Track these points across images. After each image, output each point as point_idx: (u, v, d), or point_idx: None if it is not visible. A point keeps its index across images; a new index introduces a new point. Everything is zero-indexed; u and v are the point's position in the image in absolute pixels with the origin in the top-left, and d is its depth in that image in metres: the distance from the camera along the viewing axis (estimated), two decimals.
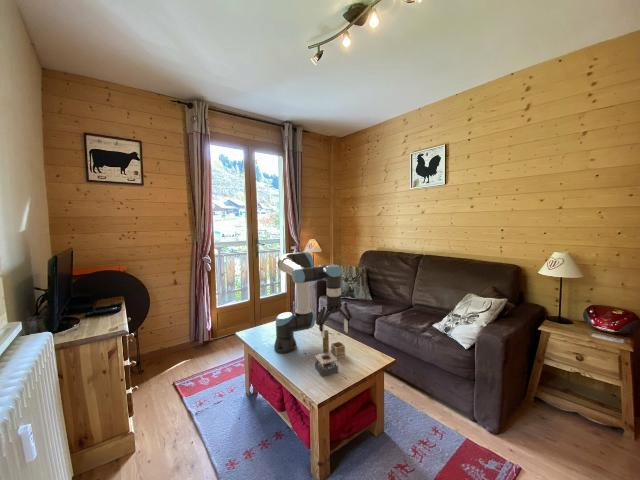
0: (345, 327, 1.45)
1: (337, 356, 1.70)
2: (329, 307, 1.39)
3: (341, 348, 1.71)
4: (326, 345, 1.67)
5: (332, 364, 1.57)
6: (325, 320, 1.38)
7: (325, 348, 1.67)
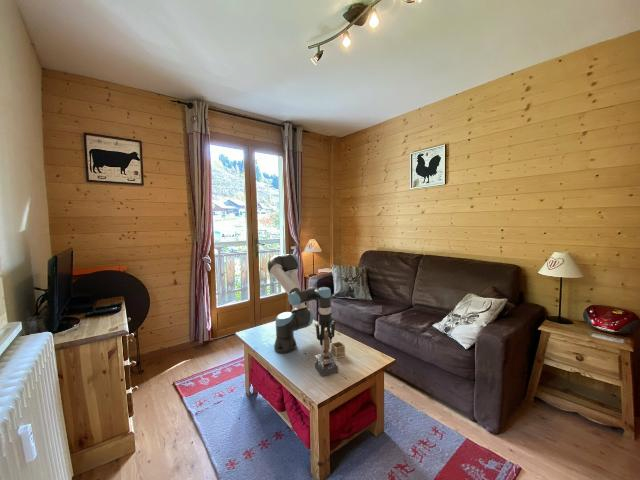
0: None
1: (337, 356, 1.70)
2: (321, 323, 1.65)
3: (341, 348, 1.71)
4: (326, 345, 1.67)
5: (332, 364, 1.57)
6: (323, 335, 1.66)
7: (325, 348, 1.67)
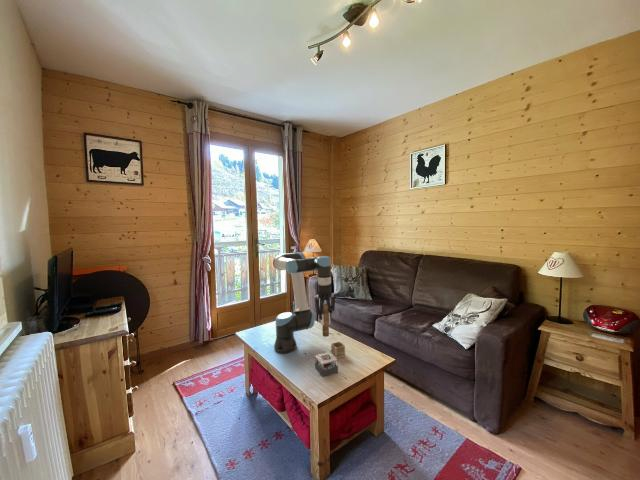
0: None
1: (337, 356, 1.70)
2: (320, 295, 1.51)
3: (341, 348, 1.71)
4: (326, 320, 1.53)
5: (332, 364, 1.57)
6: (322, 308, 1.52)
7: (325, 323, 1.53)
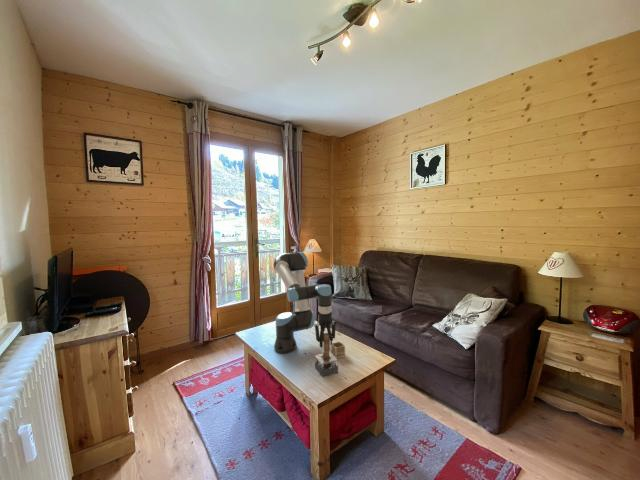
0: None
1: (337, 356, 1.70)
2: (321, 323, 1.52)
3: (341, 348, 1.71)
4: (326, 349, 1.55)
5: (332, 364, 1.57)
6: None
7: (325, 352, 1.55)
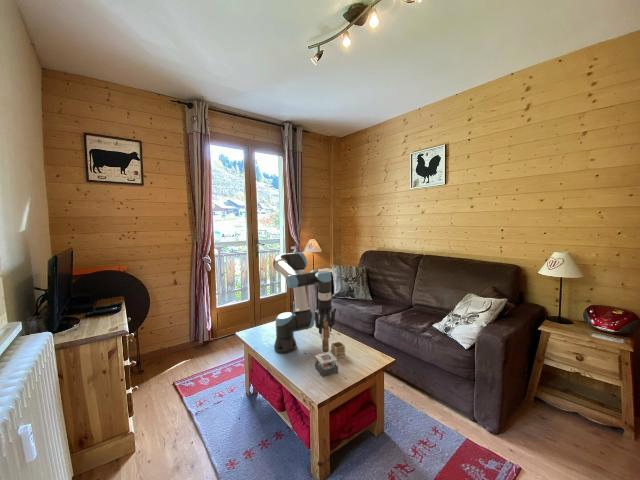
0: (328, 333, 1.56)
1: (337, 356, 1.70)
2: (320, 310, 1.52)
3: (341, 348, 1.71)
4: (326, 336, 1.54)
5: (332, 364, 1.57)
6: (322, 323, 1.53)
7: (324, 339, 1.54)
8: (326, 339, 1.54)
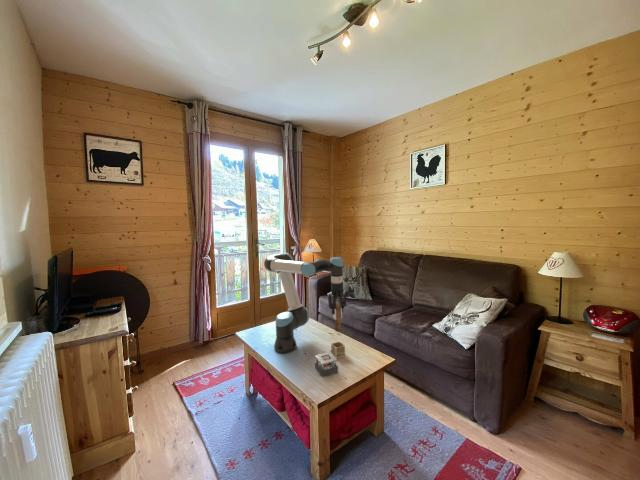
0: None
1: (337, 356, 1.70)
2: (333, 292, 1.67)
3: (341, 348, 1.71)
4: (338, 316, 1.70)
5: (332, 364, 1.57)
6: (335, 304, 1.69)
7: (337, 319, 1.70)
8: (338, 319, 1.70)
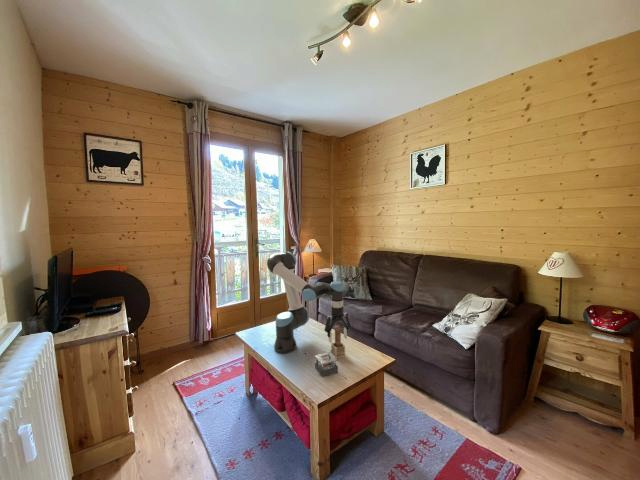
0: (345, 334, 1.75)
1: (337, 356, 1.70)
2: (333, 316, 1.69)
3: (341, 348, 1.71)
4: (338, 340, 1.71)
5: (332, 364, 1.57)
6: None
7: (337, 343, 1.72)
8: (339, 343, 1.72)
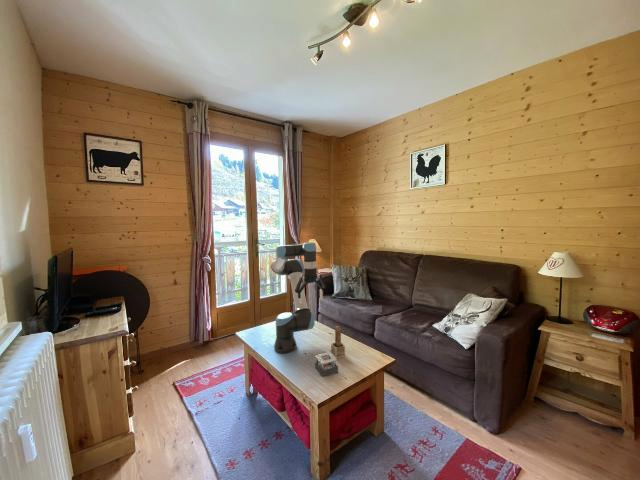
0: (320, 296, 1.70)
1: (337, 356, 1.70)
2: (306, 278, 1.64)
3: (341, 348, 1.71)
4: (338, 340, 1.71)
5: (332, 364, 1.57)
6: (302, 289, 1.63)
7: (337, 343, 1.71)
8: (339, 343, 1.71)
